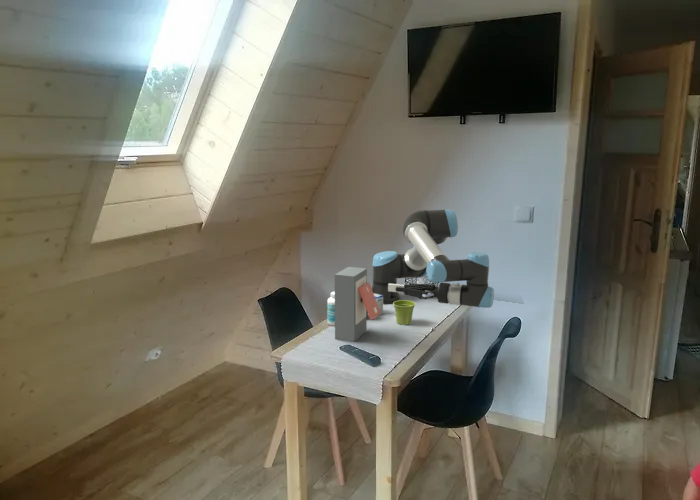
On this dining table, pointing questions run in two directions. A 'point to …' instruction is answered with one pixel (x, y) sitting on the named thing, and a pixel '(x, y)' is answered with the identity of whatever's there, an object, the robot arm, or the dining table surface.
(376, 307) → the salmon pink panel
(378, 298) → the medicine box
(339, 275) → the switch panel
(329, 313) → the pill bottle
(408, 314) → the plant pot
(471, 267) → the robot arm
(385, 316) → the dining table surface
